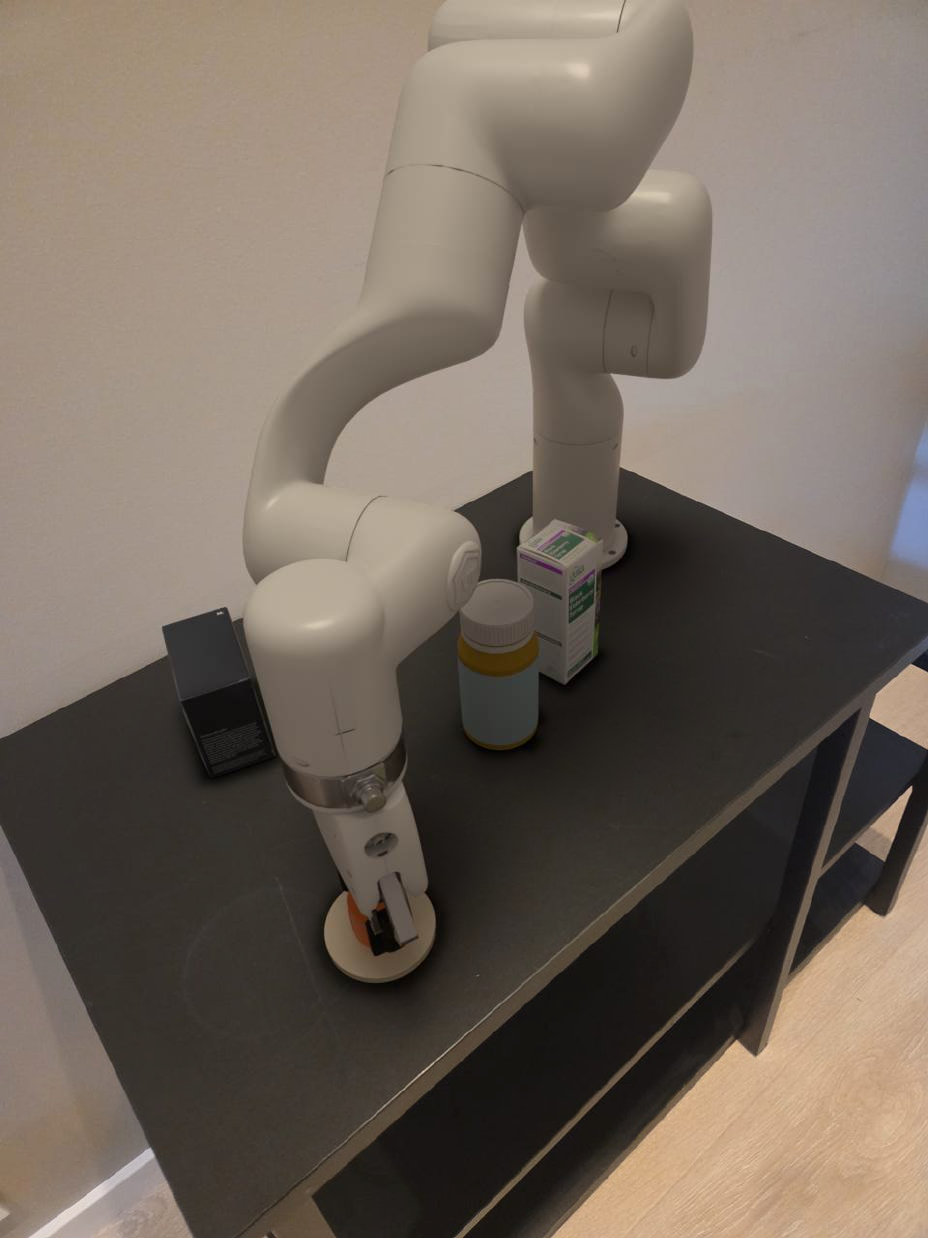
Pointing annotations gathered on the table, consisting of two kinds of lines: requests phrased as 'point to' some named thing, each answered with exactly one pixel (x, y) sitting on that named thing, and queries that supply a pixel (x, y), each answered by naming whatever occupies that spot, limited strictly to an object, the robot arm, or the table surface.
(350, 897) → the cap
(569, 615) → the syrup box
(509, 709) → the bottle
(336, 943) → the coaster
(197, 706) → the small box
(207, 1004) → the table surface
